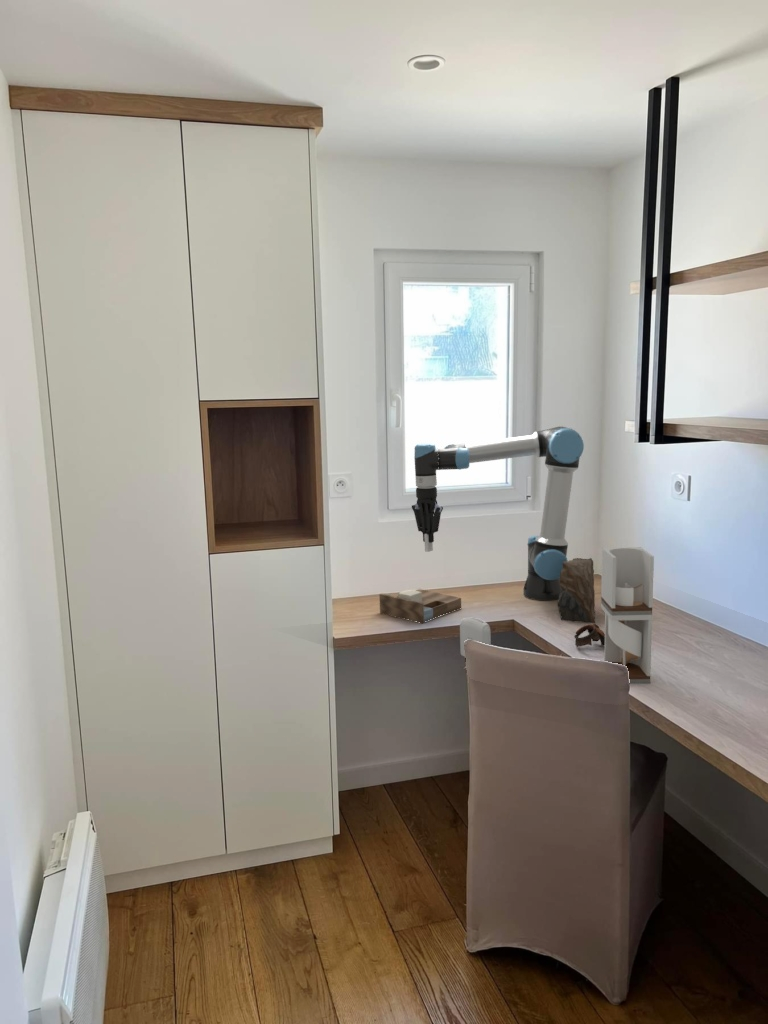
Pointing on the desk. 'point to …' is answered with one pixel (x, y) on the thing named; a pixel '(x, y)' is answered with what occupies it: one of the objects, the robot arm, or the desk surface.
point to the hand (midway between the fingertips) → (428, 550)
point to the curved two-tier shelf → (628, 609)
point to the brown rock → (577, 591)
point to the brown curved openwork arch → (594, 635)
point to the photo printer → (474, 631)
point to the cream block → (411, 595)
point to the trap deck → (419, 606)
